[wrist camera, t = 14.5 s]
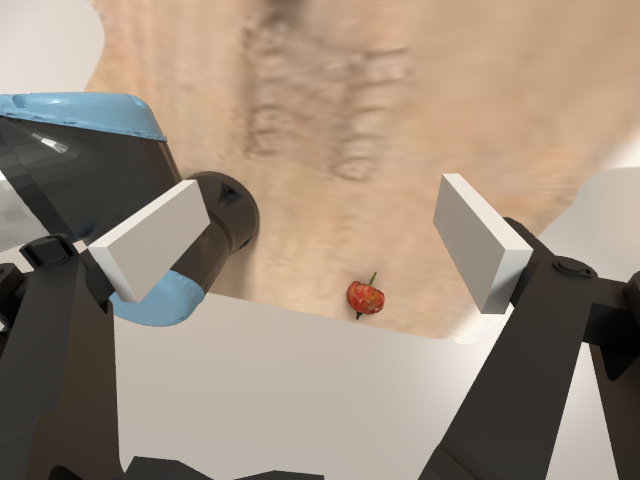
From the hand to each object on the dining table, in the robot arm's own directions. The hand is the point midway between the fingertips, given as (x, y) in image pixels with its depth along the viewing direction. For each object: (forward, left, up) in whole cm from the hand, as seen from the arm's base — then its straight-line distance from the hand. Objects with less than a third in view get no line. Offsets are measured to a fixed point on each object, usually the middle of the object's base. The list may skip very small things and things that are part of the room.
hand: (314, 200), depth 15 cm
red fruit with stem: (+5, -32, -29) cm, 43 cm away
